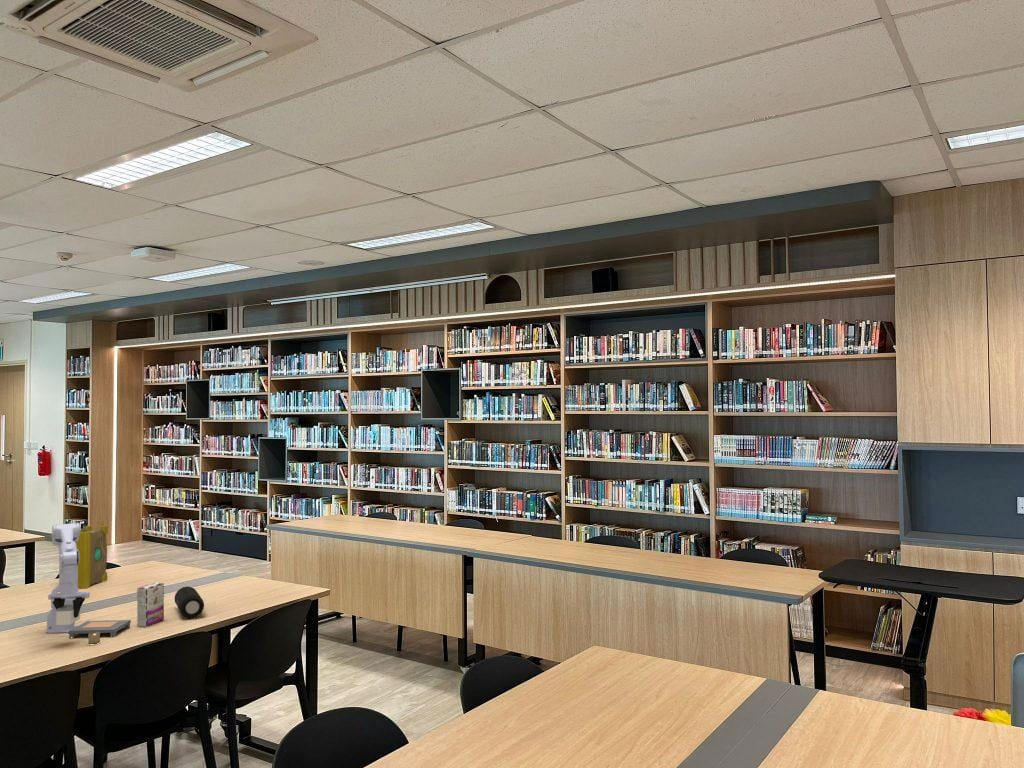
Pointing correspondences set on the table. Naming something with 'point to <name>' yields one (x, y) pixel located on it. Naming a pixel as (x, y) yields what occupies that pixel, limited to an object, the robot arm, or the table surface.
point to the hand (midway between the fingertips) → (68, 617)
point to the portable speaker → (189, 602)
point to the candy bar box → (150, 604)
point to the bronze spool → (94, 638)
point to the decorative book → (92, 556)
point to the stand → (100, 627)
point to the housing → (66, 615)
